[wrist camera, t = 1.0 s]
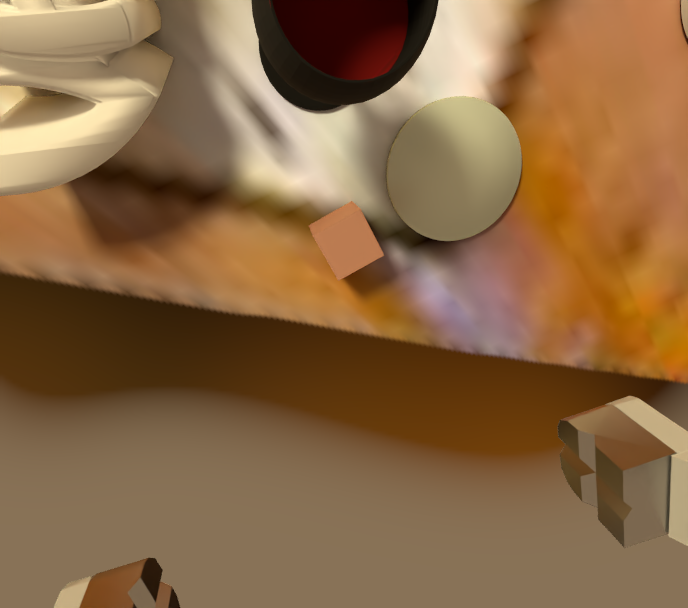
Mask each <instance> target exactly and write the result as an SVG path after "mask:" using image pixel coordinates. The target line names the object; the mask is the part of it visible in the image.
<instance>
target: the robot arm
mask: <svg viewBox="0 0 688 608" xmlns="http://www.w3.org/2000/svg"><path fill="white" fill-rule="evenodd" d="M681 14H682V21H683V26H684V30H685V33H686V36H687V38H688V0H681ZM558 437H559V438H560V439H561V440H562V441H563V442H564V443H565V446H564V448H563V450H562V452H561V453H560V460H561V468H562V470H563V473H564V475H565V478H566V480H567V482H568V484H569V485H570V487H571V488H572V490H573V491H574V493H575V494H576V495H577V496H578V497H579V498H580V499H581V501H583V502H585V503H587V504H590V505H592V506H595V507H597V508H598V519H599V521H600V522H601V523H602V524H603V525H604V526H605V527H606V528H607V529H608V531H610V533H611V534H612V535H613V536H614V537H615V538H616V539H617V540H618V541H619V543H620V544H622V546H623V547H624V548H626V547H629V546H632V545H635V544H638V543H641V542H645V541H648V540H651V539H654V538H657V537H660V536H663V535H666V534H669V537H671V538H673V539H675V540H677V541H679V542H681V543H683V544H685V545H687V546H688V432H687V431H686V430H684V429H683V428H681V427H680V426H678V425H677V424H675V423H674V422H672V421H671V420H670V419H668V418H667V417H665V416H663V415H662V414H660V413H659V412H658V411H656V410H655V409H653V408H652V407H650V406H649V405H647V404H646V403H644V402H643V401H641V400H640V399H638V398H636V397H632V396H628V397H625V398H622V399H619V400H616V401H613V402H611V403H608V404H606V405H603V406H600V407H597V408H594V409H591V410H588V411H585V412H582V413H579V414H577V415H574V416H571V417H568V418H565V419H562V420H560V422H559V424H558ZM162 571H163V570H162V568H161V567H160V565H159V563H158V562H157V560H156V559H155V558H146V559H143V560H140V561H137V562H133V563H130V564H127V565H123V566H120V567H117V568H114V569H110V570H107V571H104V572H100V573H97V574H96V575H94V576H90V577H87V578H83V579H80V580H76V581H73V582H70V583H68V584H67V585H66V586H65V587H64V588H63V589H62V590H61V592H60V594H59V596H58V598H57V601H56V603H55V605H54V608H180V605H179V601H178V598H177V595H176V593H175V591H174V589H173V588H172V586H170V585H167V584H165V583H163V582H160V580H161V576H162Z"/></svg>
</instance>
